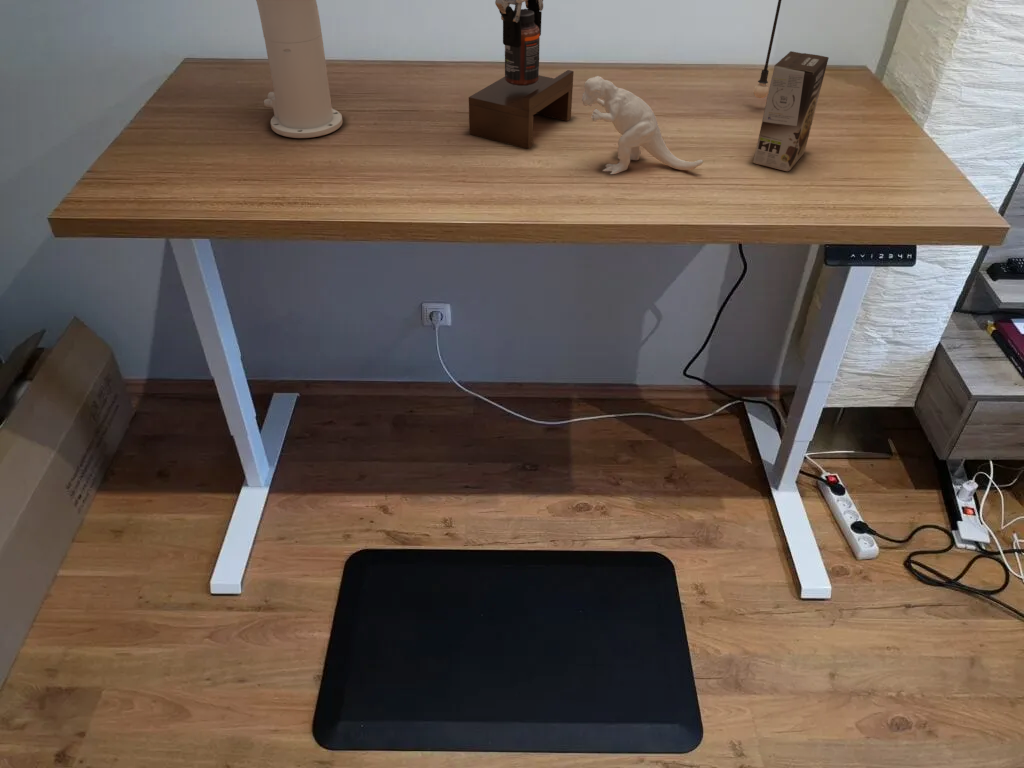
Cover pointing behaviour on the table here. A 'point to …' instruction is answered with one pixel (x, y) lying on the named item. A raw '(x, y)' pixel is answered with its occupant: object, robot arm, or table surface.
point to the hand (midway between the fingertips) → (522, 39)
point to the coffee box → (790, 110)
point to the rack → (519, 108)
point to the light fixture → (762, 88)
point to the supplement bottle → (524, 53)
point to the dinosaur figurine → (630, 125)
